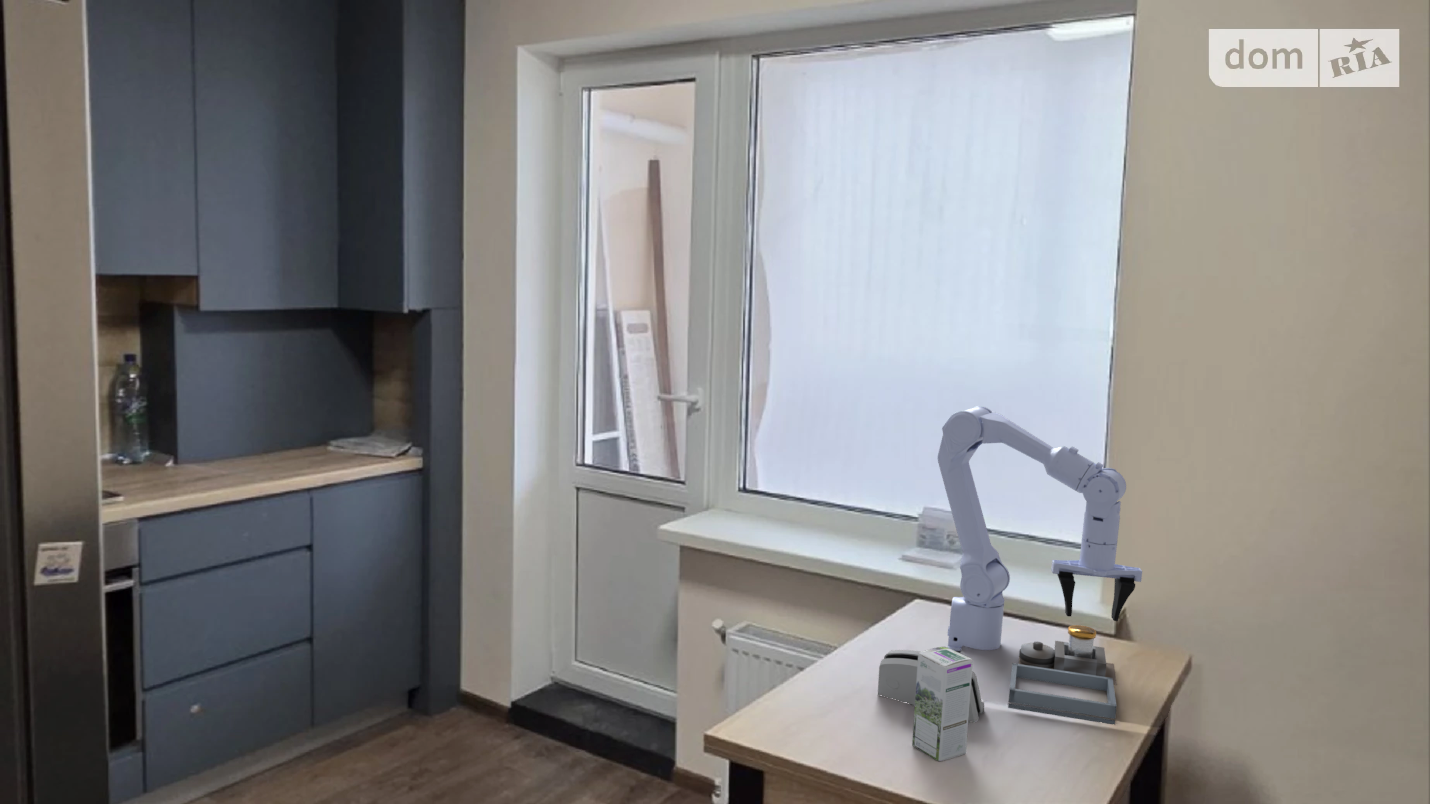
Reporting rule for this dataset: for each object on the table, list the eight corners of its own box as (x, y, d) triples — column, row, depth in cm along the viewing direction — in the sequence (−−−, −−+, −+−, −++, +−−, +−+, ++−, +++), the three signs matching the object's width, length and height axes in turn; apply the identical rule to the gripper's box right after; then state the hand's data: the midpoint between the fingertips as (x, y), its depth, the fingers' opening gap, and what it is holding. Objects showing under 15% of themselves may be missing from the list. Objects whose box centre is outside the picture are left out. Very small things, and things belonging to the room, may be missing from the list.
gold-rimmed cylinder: (1064, 671, 186) (1068, 632, 185) (1064, 661, 190) (1068, 623, 189) (1092, 675, 184) (1096, 636, 183) (1092, 665, 189) (1095, 627, 188)
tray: (1008, 707, 172) (1009, 689, 172) (1010, 679, 183) (1012, 663, 183) (1114, 724, 168) (1116, 706, 167) (1110, 695, 179) (1112, 678, 178)
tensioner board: (1017, 675, 186) (1019, 650, 185) (1019, 655, 195) (1021, 631, 194) (1116, 690, 181) (1118, 664, 180) (1113, 669, 190) (1115, 644, 190)
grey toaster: (987, 711, 170) (984, 661, 166) (976, 731, 167) (973, 680, 163) (888, 684, 179) (884, 636, 175) (876, 702, 176) (871, 653, 171)
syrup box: (967, 754, 155) (975, 657, 153) (937, 763, 152) (945, 664, 150) (939, 738, 160) (946, 644, 158) (909, 746, 157) (916, 651, 155)
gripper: (1058, 542, 182) (1051, 620, 184) (1149, 550, 179) (1140, 629, 181) (1052, 531, 188) (1045, 606, 190) (1140, 539, 186) (1131, 615, 188)
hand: (1091, 616), depth 186 cm, fingers open, 7 cm apart
